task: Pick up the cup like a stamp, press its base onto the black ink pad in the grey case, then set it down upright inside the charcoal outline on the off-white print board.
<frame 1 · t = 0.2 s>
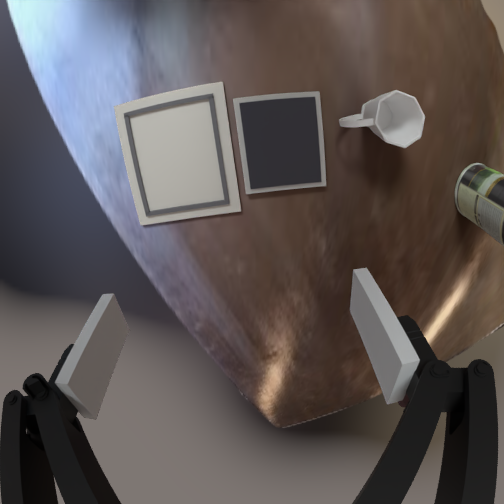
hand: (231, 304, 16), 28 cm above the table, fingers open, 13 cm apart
ink pad: (281, 141, 38), on the table
cup: (364, 115, 36), on the table
print board: (177, 156, 38), on the table
coffee can: (473, 190, 41), on the table
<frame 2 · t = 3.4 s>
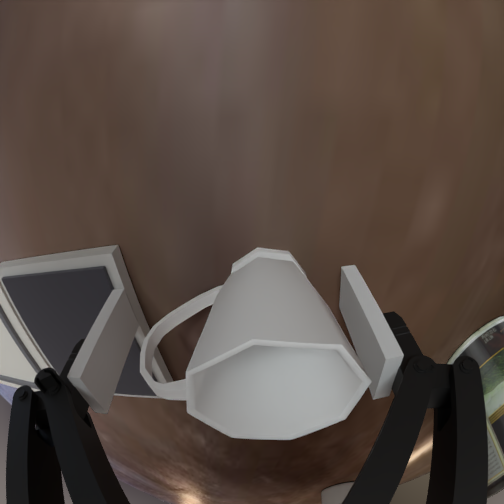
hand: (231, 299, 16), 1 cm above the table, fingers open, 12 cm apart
coffee cup: (341, 486, 38), on the table
ink pad: (85, 331, 19), on the table
cup: (241, 284, 17), on the table
coffee can: (480, 353, 22), on the table
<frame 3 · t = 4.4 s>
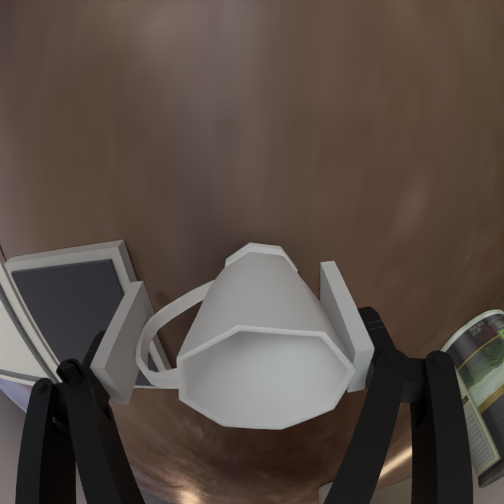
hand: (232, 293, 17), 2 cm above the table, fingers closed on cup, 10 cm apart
coffee cup: (338, 483, 39), on the table
ink pad: (90, 323, 20), on the table
cup: (235, 279, 18), point 1 cm above the table, touching gripper
coffee can: (470, 347, 23), on the table
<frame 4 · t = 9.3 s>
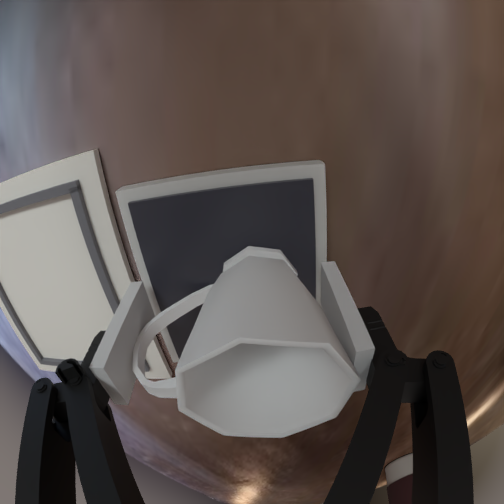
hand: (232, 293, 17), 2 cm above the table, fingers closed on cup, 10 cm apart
coffee cup: (403, 459, 38), on the table
ink pad: (233, 275, 18), on the table
cup: (233, 283, 17), point 1 cm above the table, touching gripper
print board: (53, 290, 19), on the table
when the fingers open (2 cm above the table, at t = 14.3 s): cup drops 1 cm, resting on print board.
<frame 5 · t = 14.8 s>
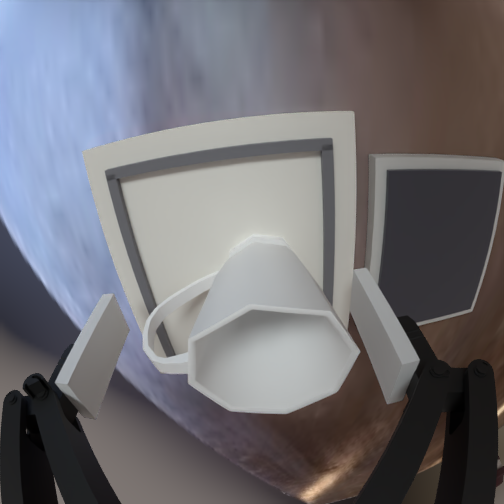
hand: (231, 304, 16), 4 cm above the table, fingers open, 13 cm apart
ink pad: (433, 245, 18), on the table
cup: (238, 269, 18), resting on print board
print board: (233, 269, 19), on the table
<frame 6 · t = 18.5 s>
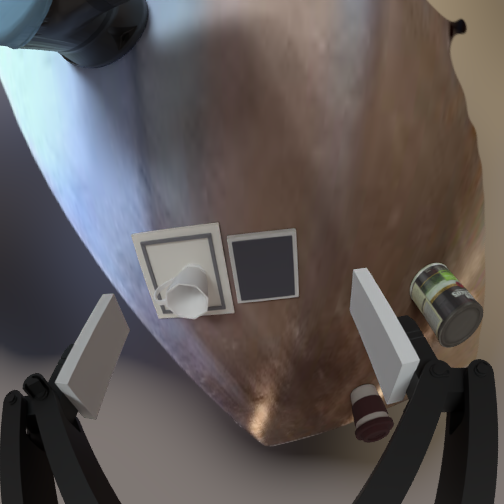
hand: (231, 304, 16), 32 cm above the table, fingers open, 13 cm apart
coffee cup: (362, 390, 71), on the table
ink pad: (264, 266, 52), on the table
cup: (186, 274, 52), resting on print board
print board: (185, 274, 52), on the table
coffee can: (429, 283, 55), on the table
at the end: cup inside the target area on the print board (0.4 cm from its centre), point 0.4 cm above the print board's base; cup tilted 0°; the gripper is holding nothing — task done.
